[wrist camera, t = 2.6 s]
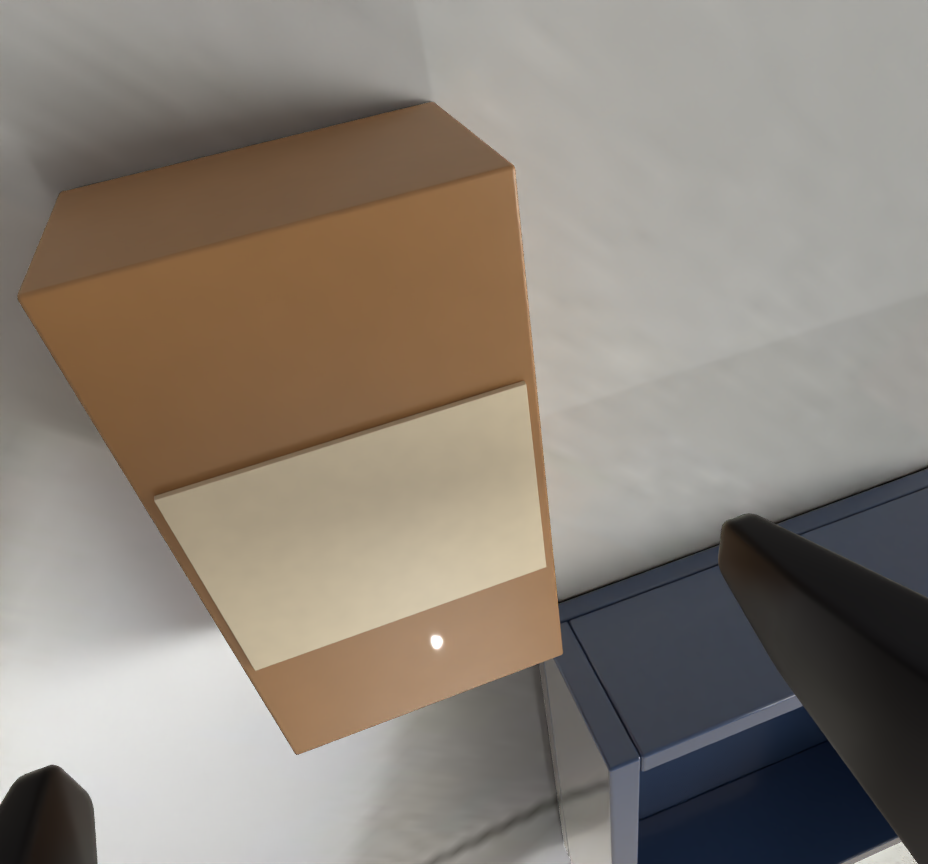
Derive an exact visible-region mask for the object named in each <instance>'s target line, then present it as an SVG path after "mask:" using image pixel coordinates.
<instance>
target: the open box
mask: <svg viewBox="0 0 928 864" xmlns="http://www.w3.org/2000/svg"><path fill="white" fill-rule="evenodd" d="M777 525H779V526H781V527H783V528H785V529H787V530H789V531H791V532H793V533H795V534H797V535H799V536H801V537H804V538H806V539H808V540H810V541H812V542H814V543H816V544H818V545H820V546H822V547H824V548H826V549H828V550H830V551H832V552H834V553H837V554H839V555H841V556H843V557H845V558H847V559H849V560H851V561H853V562H855V563H857V564H859V565H861V566H863V567H865V568H868V569H870V570H872V571H874V572H876V573H878V574H880V575H882V576H884V577H886V578H888V579H890V580H892V581H894V582H896V583H898V584H901V585H903V586H905V587H907V588H909V589H911V590H913V591H915V592H917V593H919V594H921V595H923V596H925V597H927V598H928V468H927V469H925V470H922V471H919V472H916V473H914V474H911V475H908V476H905V477H903V478H900V479H897V480H895V481H892V482H889V483H886V484H884V485H881V486H878V487H875V488H873V489H870V490H867V491H865V492H862V493H859V494H856V495H854V496H851V497H848V498H845V499H843V500H840V501H837V502H835V503H832V504H829V505H826V506H824V507H821V508H818V509H815V510H813V511H810V512H807V513H805V514H802V515H799V516H796V517H794V518H791V519H788V520H785V521H783V522H780V523H777ZM719 546H720V545H717V546H714V547H712V548H709V549H706V550H704V551H701V552H698V553H695V554H693V555H690V556H687V557H684V558H682V559H679V560H676V561H674V562H671V563H668V564H665V565H663V566H660V567H657V568H654V569H652V570H649V571H646V572H643V573H641V574H638V575H635V576H633V577H630V578H627V579H624V580H622V581H619V582H616V583H613V584H611V585H608V586H605V587H603V588H600V589H597V590H594V591H592V592H589V593H586V594H583V595H581V596H578V597H575V598H573V599H570V600H567V601H564V602H562V603H559V604H558V608H559V618H560V628H561V639H562V649H563V654H562V655H560V656H557V657H555V658H552V659H550V660H547V661H544V662H542V663H539V668H540V676H541V683H542V690H543V697H544V705H545V712H546V719H547V726H548V733H549V741H550V748H551V755H552V762H553V769H554V777H555V784H556V791H557V798H558V806H559V813H560V820H561V827H562V834H563V842H564V846H565V848H566V851H567V853H568V856H569V857H570V861H571V863H572V864H854V863H856V862H858V861H860V860H862V859H864V858H867V857H869V856H871V855H873V854H875V853H878V852H880V851H882V850H884V849H886V848H889V847H891V846H893V845H895V844H897V843H899V842H902V841H901V840H900V838H899V837H898V835H897V834H896V833H895V831H894V830H893V829H892V827H891V826H890V824H889V823H888V822H887V820H886V819H885V818H884V816H883V815H882V813H881V812H880V811H879V809H878V808H877V807H876V805H875V804H874V802H873V801H872V800H871V798H870V797H869V796H868V794H867V793H866V791H865V790H864V789H863V787H862V786H861V785H860V783H859V782H858V780H857V779H856V778H855V776H854V775H853V774H852V772H851V771H850V770H849V768H848V767H847V765H846V764H845V763H844V761H843V760H842V759H841V757H840V756H839V754H838V753H837V752H836V750H835V749H834V748H833V746H832V745H831V743H830V742H829V741H828V739H827V738H826V737H825V735H824V734H823V732H822V731H821V730H820V728H819V727H818V726H817V724H816V723H815V721H814V720H813V719H812V717H811V716H810V715H809V713H808V712H807V710H806V709H805V708H804V706H803V705H802V704H801V702H800V701H799V699H798V698H797V697H796V695H795V694H794V693H793V691H792V690H791V688H790V687H789V686H788V684H787V683H786V681H785V680H784V679H783V677H782V676H781V674H780V673H779V671H778V670H777V668H776V667H775V665H774V663H773V662H772V660H771V659H770V657H769V655H768V654H767V652H766V650H765V648H764V647H763V645H762V643H761V642H760V640H759V638H758V636H757V635H756V633H755V631H754V629H753V628H752V626H751V624H750V622H749V621H748V619H747V617H746V616H745V614H744V612H743V610H742V609H741V607H740V605H739V603H738V602H737V600H736V598H735V596H734V595H733V593H732V591H731V590H730V588H729V586H728V584H727V583H726V581H725V579H724V577H723V576H722V573H721V571H720V568H719V564H718V554H719Z"/></svg>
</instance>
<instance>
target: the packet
mask: <svg viewBox="0 0 928 864" xmlns="http://www.w3.org/2000/svg"><path fill="white" fill-rule="evenodd" d="M17 299H18V301H19V303H20V304H21V306H22V308H23V309H24V311H25V312H26V314H27V316H28V317H29V319H30V321H31V322H32V324H33V326H34V327H35V329H36V330H37V332H38V334H39V335H40V337H41V339H42V340H43V342H44V344H45V345H46V347H47V348H48V350H49V352H50V353H51V355H52V357H53V358H54V360H55V362H56V363H57V365H58V366H59V368H60V370H61V371H62V373H63V375H64V376H65V378H66V380H67V381H68V383H69V384H70V386H71V388H72V389H73V391H74V393H75V394H76V396H77V398H78V399H79V401H80V402H81V404H82V406H83V407H84V409H85V411H86V412H87V414H88V416H89V417H90V419H91V420H92V422H93V424H94V425H95V427H96V429H97V430H98V432H99V434H100V435H101V437H102V438H103V440H104V442H105V443H106V445H107V447H108V448H109V450H110V451H111V453H112V455H113V456H114V458H115V460H116V461H117V463H118V465H119V466H120V468H121V469H122V471H123V473H124V474H125V476H126V478H127V479H128V481H129V483H130V484H131V486H132V487H133V489H134V491H135V492H136V494H137V496H138V497H139V499H140V501H141V502H142V504H143V505H144V507H145V509H146V510H147V512H148V514H149V515H150V517H151V519H152V520H153V522H154V523H155V525H156V527H157V528H158V530H159V532H160V533H161V535H162V537H163V538H164V540H165V541H166V543H167V545H168V546H169V548H170V550H171V551H172V553H173V555H174V556H175V558H176V559H177V561H178V563H179V564H180V566H181V568H182V569H183V571H184V573H185V574H186V576H187V577H188V579H189V581H190V582H191V584H192V586H193V587H194V589H195V591H196V592H197V594H198V595H199V597H200V599H201V600H202V602H203V604H204V605H205V607H206V609H207V610H208V612H209V613H210V615H211V617H212V618H213V620H214V622H215V623H216V625H217V627H218V628H219V630H220V631H221V633H222V635H223V636H224V638H225V640H226V641H227V643H228V645H229V646H230V648H231V649H232V651H233V653H234V654H235V656H236V658H237V659H238V661H239V663H240V664H241V666H242V667H243V669H244V671H245V672H246V674H247V676H248V677H249V679H250V681H251V682H252V684H253V685H254V687H255V689H256V690H257V692H258V694H259V695H260V697H261V699H262V700H263V702H264V703H265V705H266V707H267V708H268V710H269V712H270V713H271V715H272V717H273V718H274V720H275V721H276V723H277V725H278V726H279V728H280V730H281V731H282V733H283V735H284V736H285V738H286V739H287V741H288V743H289V744H290V746H291V748H292V749H293V751H294V753H295V754H296V755H299V754H301V753H304V752H306V751H309V750H312V749H314V748H317V747H320V746H322V745H325V744H328V743H330V742H333V741H336V740H338V739H341V738H343V737H346V736H349V735H351V734H354V733H357V732H359V731H362V730H365V729H367V728H370V727H373V726H375V725H378V724H380V723H383V722H386V721H388V720H391V719H394V718H396V717H399V716H402V715H404V714H407V713H409V712H412V711H415V710H417V709H420V708H423V707H425V706H428V705H431V704H433V703H436V702H439V701H441V700H444V699H446V698H449V697H452V696H454V695H457V694H460V693H462V692H465V691H468V690H470V689H473V688H476V687H478V686H481V685H483V684H486V683H489V682H491V681H494V680H497V679H499V678H502V677H505V676H507V675H510V674H513V673H515V672H518V671H520V670H523V669H526V668H528V667H531V666H534V665H536V664H539V663H542V662H544V661H547V660H550V659H552V658H555V657H557V656H560V655H562V654H563V649H562V639H561V628H560V618H559V608H558V598H557V588H556V578H555V568H554V558H553V548H552V537H551V527H550V517H549V507H548V497H547V487H546V477H545V467H544V456H543V446H542V436H541V426H540V416H539V406H538V396H537V386H536V375H535V365H534V355H533V345H532V335H531V325H530V315H529V305H528V295H527V284H526V274H525V264H524V254H523V244H522V234H521V224H520V214H519V203H518V193H517V183H516V173H515V167H514V166H513V165H512V164H511V163H510V162H509V161H507V160H506V159H505V158H504V157H502V156H501V155H500V154H499V153H497V152H496V151H495V150H494V149H492V148H491V147H490V146H489V145H487V144H486V143H485V142H483V141H482V140H481V139H480V138H478V137H477V136H476V135H475V134H473V133H472V132H471V131H470V130H468V129H467V128H466V127H465V126H463V125H462V124H461V123H460V122H458V121H457V120H456V119H455V118H453V117H452V116H451V115H449V114H448V113H447V112H446V111H444V110H443V109H442V108H441V107H439V106H438V105H437V104H436V103H434V102H428V103H424V104H420V105H416V106H411V107H407V108H403V109H399V110H395V111H391V112H387V113H383V114H379V115H374V116H370V117H366V118H362V119H358V120H354V121H350V122H346V123H342V124H338V125H333V126H329V127H325V128H321V129H317V130H313V131H309V132H305V133H301V134H296V135H292V136H288V137H284V138H280V139H276V140H272V141H268V142H264V143H260V144H255V145H251V146H247V147H243V148H239V149H235V150H231V151H227V152H223V153H218V154H214V155H210V156H206V157H202V158H198V159H194V160H190V161H186V162H182V163H177V164H173V165H169V166H165V167H161V168H157V169H153V170H149V171H145V172H141V173H136V174H132V175H128V176H124V177H120V178H116V179H112V180H108V181H104V182H99V183H95V184H91V185H87V186H83V187H79V188H75V189H71V190H67V191H63V192H61V193H59V195H58V198H57V200H56V203H55V205H54V207H53V210H52V212H51V215H50V217H49V220H48V222H47V224H46V227H45V229H44V232H43V234H42V237H41V239H40V241H39V244H38V246H37V249H36V251H35V254H34V256H33V258H32V261H31V263H30V266H29V268H28V270H27V273H26V275H25V278H24V280H23V283H22V285H21V287H20V290H19V292H18V295H17Z"/></svg>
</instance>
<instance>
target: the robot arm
mask: <svg viewBox="0 0 928 864" xmlns="http://www.w3.org/2000/svg"><path fill="white" fill-rule="evenodd" d="M718 564H719V568H720V571H721V573H722V576H723V577H724V579H725V581H726V583H727V584H728V586H729V588H730V590H731V591H732V593H733V595H734V596H735V598H736V600H737V602H738V603H739V605H740V607H741V609H742V610H743V612H744V614H745V616H746V617H747V619H748V621H749V622H750V624H751V626H752V628H753V629H754V631H755V633H756V635H757V636H758V638H759V640H760V642H761V643H762V645H763V647H764V648H765V650H766V652H767V654H768V655H769V657H770V659H771V660H772V662H773V663H774V665H775V667H776V668H777V670H778V671H779V673H780V674H781V676H782V677H783V679H784V680H785V681H786V683H787V684H788V686H789V687H790V688H791V690H792V691H793V693H794V694H795V695H796V697H797V698H798V699H799V701H800V702H801V704H802V705H803V706H804V708H805V709H806V710H807V712H808V713H809V715H810V716H811V717H812V719H813V720H814V721H815V723H816V724H817V726H818V727H819V728H820V730H821V731H822V732H823V734H824V735H825V737H826V738H827V739H828V741H829V742H830V743H831V745H832V746H833V748H834V749H835V750H836V752H837V753H838V754H839V756H840V757H841V759H842V760H843V761H844V763H845V764H846V765H847V767H848V768H849V770H850V771H851V772H852V774H853V775H854V776H855V778H856V779H857V780H858V782H859V783H860V785H861V786H862V787H863V789H864V790H865V791H866V793H867V794H868V796H869V797H870V798H871V800H872V801H873V802H874V804H875V805H876V807H877V808H878V809H879V811H880V812H881V813H882V815H883V816H884V818H885V819H886V820H887V822H888V823H889V824H890V826H891V827H892V829H893V830H894V831H895V833H896V834H897V835H898V837H899V838H900V840H901V841H902V842H903V844H904V845H905V846H906V848H907V849H908V851H909V852H910V853H911V855H912V856H913V857H914V859H915V860H916V862H917V863H918V864H928V598H927V597H925V596H923V595H921V594H919V593H917V592H915V591H913V590H911V589H909V588H907V587H905V586H903V585H901V584H898V583H896V582H894V581H892V580H890V579H888V578H886V577H884V576H882V575H880V574H878V573H876V572H874V571H872V570H870V569H868V568H865V567H863V566H861V565H859V564H857V563H855V562H853V561H851V560H849V559H847V558H845V557H843V556H841V555H839V554H837V553H834V552H832V551H830V550H828V549H826V548H824V547H822V546H820V545H818V544H816V543H814V542H812V541H810V540H808V539H806V538H804V537H801V536H799V535H797V534H795V533H793V532H791V531H789V530H787V529H785V528H783V527H781V526H779V525H777V524H775V523H773V522H771V521H768V520H766V519H764V518H762V517H760V516H758V515H755V514H744V515H741V516H738V517H736V518H733V519H730V520H727V521H726V522H725V523H724V524H723V525H722V529H721V537H720V546H719V554H718ZM0 864H98V863H97V848H96V833H95V819H94V808H93V804H92V801H91V798H90V796H89V794H88V793H87V792H86V791H85V790H84V789H83V788H82V787H81V786H80V785H79V784H78V783H77V782H76V781H75V780H74V779H73V778H71V777H70V776H69V775H68V774H67V773H66V772H65V771H64V770H63V769H62V768H60V767H59V766H56V765H49V766H46V767H44V768H41V769H38V770H35V771H32V772H30V773H27V774H24V775H23V776H21V777H19V778H18V779H17V780H16V781H15V782H14V783H13V785H12V786H11V788H10V789H9V791H8V793H7V794H6V796H5V798H4V799H3V801H2V803H1V804H0Z"/></svg>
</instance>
